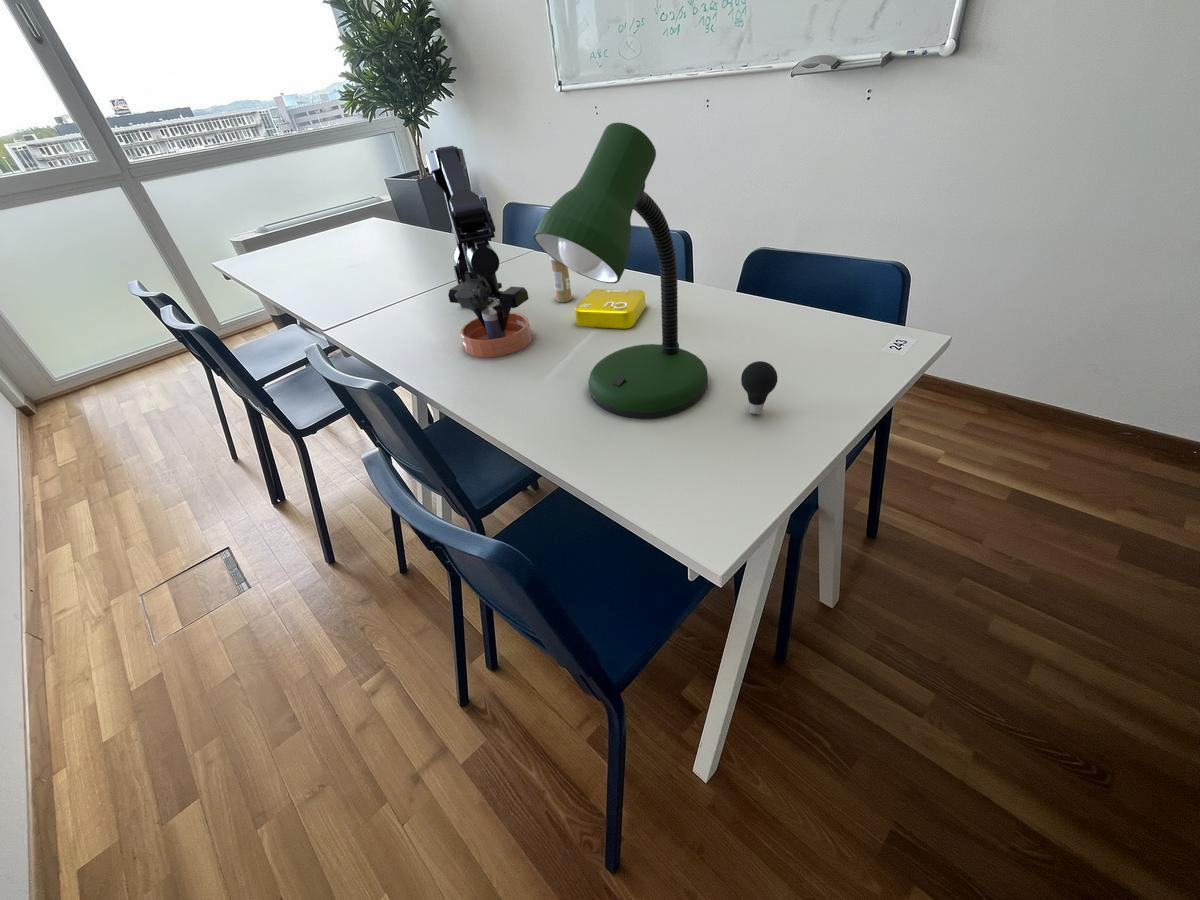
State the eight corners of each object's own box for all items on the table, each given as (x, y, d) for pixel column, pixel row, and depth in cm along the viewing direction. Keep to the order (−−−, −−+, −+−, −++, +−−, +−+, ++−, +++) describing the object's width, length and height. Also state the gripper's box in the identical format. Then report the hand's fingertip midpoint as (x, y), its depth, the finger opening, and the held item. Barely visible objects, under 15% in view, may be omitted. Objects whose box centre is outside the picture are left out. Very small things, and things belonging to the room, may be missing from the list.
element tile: (647, 305, 135) (646, 287, 132) (631, 329, 124) (630, 310, 121) (593, 303, 140) (592, 286, 137) (574, 326, 129) (571, 308, 126)
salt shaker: (495, 337, 127) (488, 306, 123) (511, 339, 126) (504, 307, 121) (485, 345, 124) (477, 313, 119) (501, 347, 122) (493, 315, 118)
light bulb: (734, 407, 93) (737, 357, 87) (766, 403, 93) (771, 353, 87) (744, 425, 88) (748, 373, 82) (777, 420, 88) (784, 369, 82)
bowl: (490, 326, 134) (486, 310, 131) (543, 332, 128) (540, 315, 125) (451, 354, 122) (446, 337, 120) (508, 362, 116) (504, 344, 114)
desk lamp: (624, 456, 84) (597, 141, 57) (536, 412, 98) (481, 140, 71) (729, 379, 101) (746, 105, 74) (641, 350, 114) (629, 110, 87)
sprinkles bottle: (575, 299, 144) (569, 250, 135) (561, 304, 142) (554, 254, 134) (567, 295, 147) (560, 247, 139) (553, 299, 145) (545, 251, 137)
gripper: (423, 274, 111) (443, 340, 121) (494, 278, 104) (510, 348, 114) (455, 258, 119) (471, 321, 129) (523, 261, 112) (535, 328, 122)
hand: (495, 329), depth 123 cm, fingers closed on salt shaker, 4 cm apart
